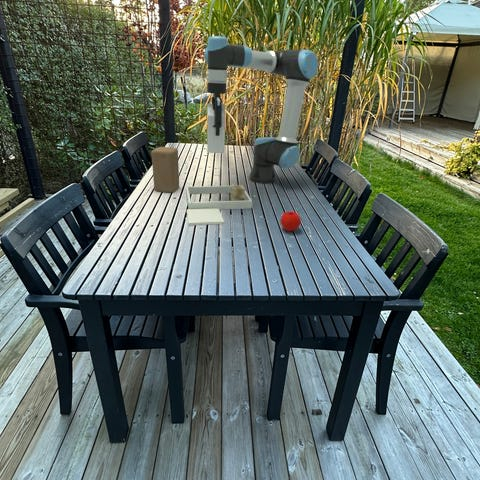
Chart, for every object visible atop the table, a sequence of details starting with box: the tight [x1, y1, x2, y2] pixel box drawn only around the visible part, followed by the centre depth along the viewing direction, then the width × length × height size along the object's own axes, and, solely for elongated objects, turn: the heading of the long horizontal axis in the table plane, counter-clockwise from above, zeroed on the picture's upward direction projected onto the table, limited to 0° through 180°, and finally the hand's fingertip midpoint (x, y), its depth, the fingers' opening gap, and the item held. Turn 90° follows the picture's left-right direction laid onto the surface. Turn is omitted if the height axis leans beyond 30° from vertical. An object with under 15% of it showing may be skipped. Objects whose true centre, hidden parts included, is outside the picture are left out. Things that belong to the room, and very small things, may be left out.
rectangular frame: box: [185, 184, 253, 211], centre depth 157 cm, size 28×22×4 cm
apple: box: [280, 211, 302, 232], centre depth 131 cm, size 8×8×7 cm
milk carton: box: [206, 103, 226, 154], centre depth 140 cm, size 7×7×19 cm
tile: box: [186, 208, 225, 226], centre depth 140 cm, size 14×14×1 cm
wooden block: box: [150, 146, 180, 194], centre depth 164 cm, size 10×10×20 cm
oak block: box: [229, 184, 246, 201], centre depth 153 cm, size 5×5×8 cm
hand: (215, 141), depth 143 cm, fingers closed on milk carton, 7 cm apart
